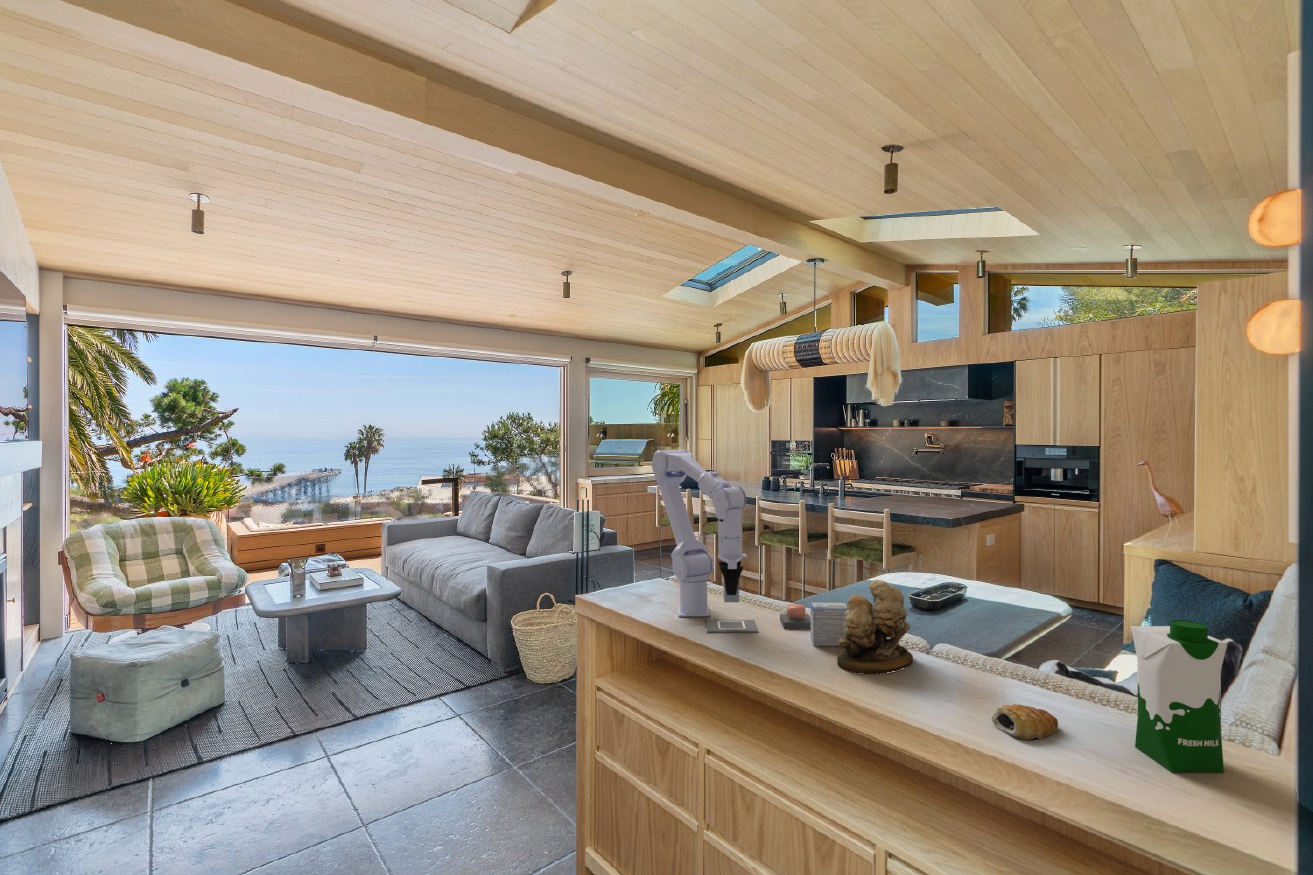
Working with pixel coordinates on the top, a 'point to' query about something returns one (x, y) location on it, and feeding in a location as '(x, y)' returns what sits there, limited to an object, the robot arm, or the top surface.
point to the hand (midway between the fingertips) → (730, 592)
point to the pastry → (1025, 721)
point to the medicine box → (827, 623)
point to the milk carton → (1179, 696)
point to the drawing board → (731, 626)
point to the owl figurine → (875, 632)
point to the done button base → (795, 621)
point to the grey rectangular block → (731, 597)
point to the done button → (796, 610)
